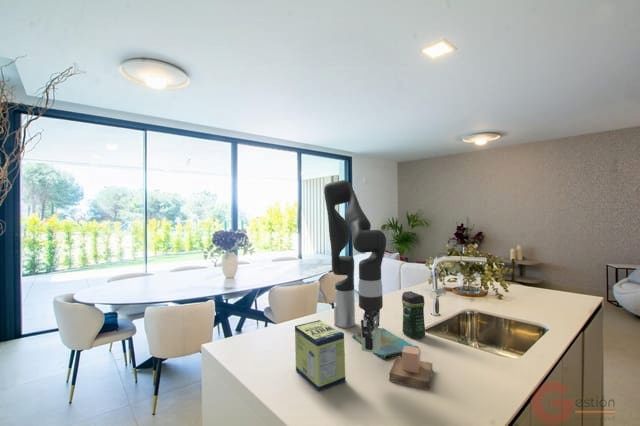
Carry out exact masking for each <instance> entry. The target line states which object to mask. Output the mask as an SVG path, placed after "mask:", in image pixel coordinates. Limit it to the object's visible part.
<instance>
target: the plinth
mask: <svg viewBox="0 0 640 426" xmlns="http://www.w3.org/2000/svg"><path fill="white" fill-rule="evenodd" d="M433 370H434V369H433V362H428V361H424V360H423V361H422V360H420V369H419V373H414V372H409V371H404V370H402V356H399V357H395V358H394V361H393V364H392V367H391V368H390V371H389V374H388V375H389V378H388V380H389V381H390V382H392V383H398V384H401V385H406V386H410V387H415V388H420V389H425V390H430V388H431V382H432V376H433Z"/></svg>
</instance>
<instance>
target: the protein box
mask: <svg viewBox="0 0 640 426" xmlns="http://www.w3.org/2000/svg"><path fill="white" fill-rule="evenodd" d="M294 340H295V341H294V342H295V343H294V345H295V347H294V348H295V349H294V351H295V371H296V372H297V373H298V374H299V375H300V376H301V377H302V378H304V380H305V381H307V382H308V384H310V385H311V386H312V387H313V388H314V389H315V390H317V392H320V391H321V392H322V391H323V390H327V389H329V388H331V387H334V386H337V385H339V384H341V383H344V382H346V359H345V356H346V355H345V353H346V352H345V332H342V331H341V330H339V329H337V328H335V327H334V326H332V325H329V324H327V323H326V322H324V321H322V320H320V319H318V320H314V321H310V322H306V323H301V324H297V325H295V326H294Z"/></svg>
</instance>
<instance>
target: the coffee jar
mask: <svg viewBox="0 0 640 426" xmlns="http://www.w3.org/2000/svg"><path fill="white" fill-rule="evenodd" d="M401 295H402V296H401V304H402V334H404V335H405V336H407V337H409V338H411V339H422V338H425V336H426V327H425V326H426V325H425V324H426V323H425V314H424V313H425V312H424V308H425V303H426V302H425V297H424V295H422V294H420V293H416V292H414V291H409V290H408V291H404V292H403V293H402V294H401Z"/></svg>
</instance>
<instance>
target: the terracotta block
mask: <svg viewBox="0 0 640 426" xmlns="http://www.w3.org/2000/svg"><path fill="white" fill-rule="evenodd" d="M401 357H402V370H404V371H409V372H414V373H419V369H420V361H421V347H418V348H417V347H411V346H404V348H403V350H402V356H401Z"/></svg>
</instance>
